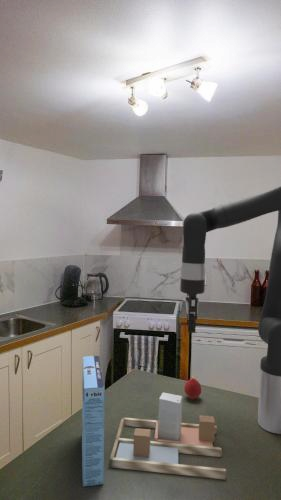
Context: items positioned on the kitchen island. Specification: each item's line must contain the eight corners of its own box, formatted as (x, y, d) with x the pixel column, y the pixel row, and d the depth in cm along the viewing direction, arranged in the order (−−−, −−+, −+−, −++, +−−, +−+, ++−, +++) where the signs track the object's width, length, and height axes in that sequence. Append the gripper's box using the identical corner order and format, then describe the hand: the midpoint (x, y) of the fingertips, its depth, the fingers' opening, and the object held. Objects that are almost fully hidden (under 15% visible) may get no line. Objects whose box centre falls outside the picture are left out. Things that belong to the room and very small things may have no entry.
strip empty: (177, 452, 86) (178, 427, 86) (178, 470, 80) (179, 444, 79) (119, 446, 88) (120, 422, 88) (115, 463, 81) (115, 437, 81)
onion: (200, 395, 117) (201, 373, 117) (201, 404, 112) (202, 381, 111) (183, 394, 118) (184, 372, 117) (184, 402, 112) (185, 379, 112)
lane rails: (216, 432, 96) (216, 425, 96) (225, 479, 77) (226, 471, 77) (121, 423, 99) (122, 417, 99) (109, 467, 80) (109, 459, 80)
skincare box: (181, 436, 93) (183, 395, 92) (178, 445, 89) (180, 403, 88) (160, 431, 95) (162, 391, 94) (156, 440, 91) (158, 398, 90)
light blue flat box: (103, 485, 75) (105, 387, 73) (80, 487, 74) (82, 388, 73) (99, 433, 94) (100, 355, 93) (81, 434, 93) (82, 355, 92)
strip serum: (211, 433, 95) (212, 411, 94) (215, 452, 86) (216, 428, 86) (156, 428, 97) (156, 406, 96) (154, 446, 88) (155, 422, 88)
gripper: (207, 281, 95) (205, 336, 96) (202, 274, 109) (201, 322, 110) (181, 280, 96) (179, 334, 97) (180, 273, 110) (178, 321, 111)
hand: (190, 328), depth 103 cm, fingers open, 8 cm apart
